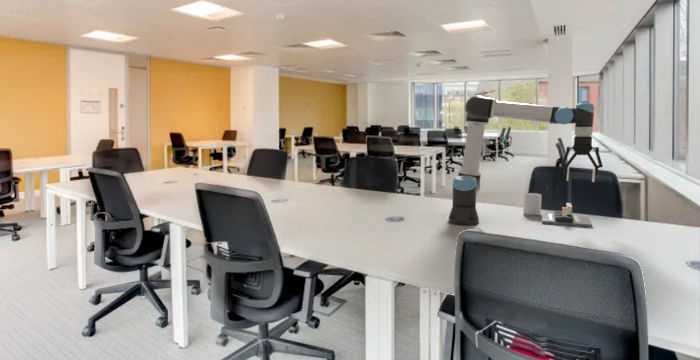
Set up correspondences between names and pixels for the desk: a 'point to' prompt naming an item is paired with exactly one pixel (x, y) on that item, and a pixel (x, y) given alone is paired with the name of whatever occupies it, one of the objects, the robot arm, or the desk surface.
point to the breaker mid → (569, 210)
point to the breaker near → (564, 211)
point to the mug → (532, 204)
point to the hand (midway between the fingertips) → (580, 181)
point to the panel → (581, 218)
